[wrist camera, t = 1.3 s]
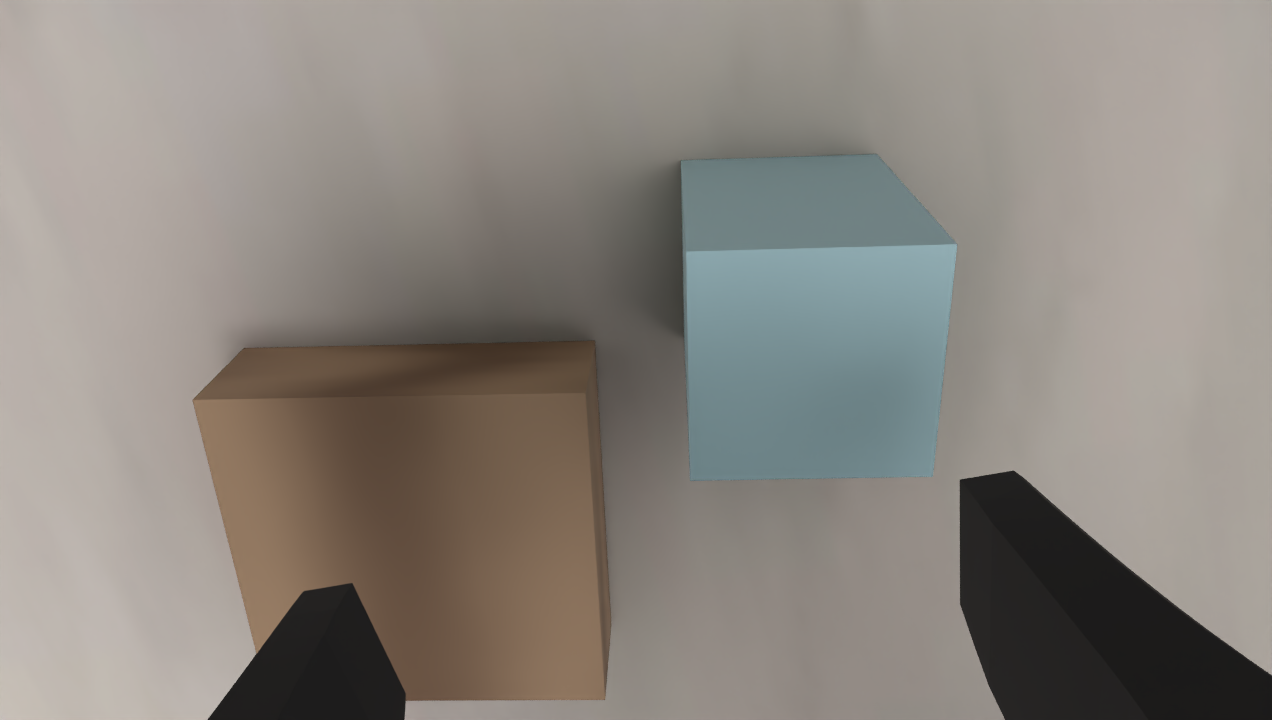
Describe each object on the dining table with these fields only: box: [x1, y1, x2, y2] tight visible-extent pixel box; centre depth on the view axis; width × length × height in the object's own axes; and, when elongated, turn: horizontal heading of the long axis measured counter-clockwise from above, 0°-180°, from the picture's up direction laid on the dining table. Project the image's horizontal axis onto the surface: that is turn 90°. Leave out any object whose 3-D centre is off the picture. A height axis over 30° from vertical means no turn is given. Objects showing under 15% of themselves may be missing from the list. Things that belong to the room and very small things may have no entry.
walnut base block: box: [193, 341, 611, 701], centre depth 22 cm, size 8×8×3 cm
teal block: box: [681, 154, 957, 481], centre depth 18 cm, size 4×4×6 cm
